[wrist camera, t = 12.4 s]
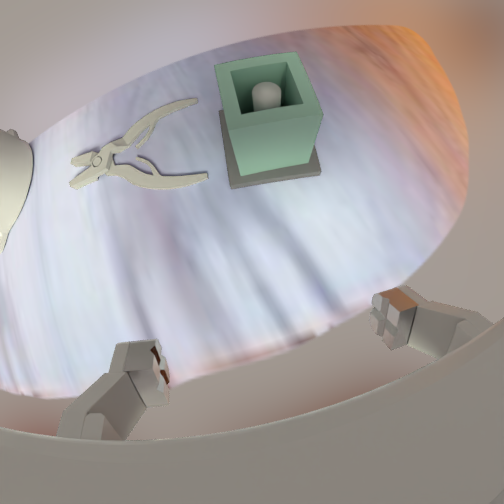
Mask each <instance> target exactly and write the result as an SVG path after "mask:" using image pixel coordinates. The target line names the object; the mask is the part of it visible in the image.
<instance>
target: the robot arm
mask: <svg viewBox="0 0 504 504" xmlns="http://www.w3.org/2000/svg"><path fill="white" fill-rule="evenodd" d="M32 168H33V156H32V151H31V148H30V146H29V144H28V143H27V142H26V141H24V140H21V139H19V137H18V134H17V132H16V131H14V130H12V129H10V130H9V131H7V132H5V131H3V130H1V129H0V254H1V253H2V251H3V249H4V246H5V243H6V239H7V236H8V233H9V231H10V229H11V227H12V226H13V224H14V222H15V221H16V219H17V217H18V215H19V213H20V211H21V209H22V207H23V204H24V202H25V199H26V196H27V193H28V189H29V185H30V181H31V176H32ZM372 305H373V306H374V308H373V309H372V311H371V312H370V325H371V328H372V329H373V331H374V332H375V333H376V334H377V335H379V336H382V341H383V342H384V343H385V344H386V346H387V347H388V348H389V349H390V350H394V349H396V348H399V347H402V346H404V345H407V344H408V346H411V347H413V348H415V349H417V350H419V351H422V352H424V353H426V354H428V355H430V356H433V357H435V358H437V360H435V361H434V362H432V363H430V364H428V365H426V366H424V367H422V368H420V369H418V370H416V371H414V372H412V373H410V374H408V375H406V376H404V377H402V378H399V379H397V380H395V381H393V382H390V383H388V384H386V385H384V386H381V387H379V388H377V389H374V390H372V391H369V392H367V393H364V394H362V395H359V396H356V397H354V398H351V399H348V400H345V401H343V402H340V403H337V404H334V405H331V406H328V407H325V408H322V409H319V410H315V411H312V412H309V413H305V414H302V415H298V416H295V417H291V418H287V419H284V420H280V421H275V422H272V423H267V424H263V425H258V426H253V427H249V428H244V429H238V430H233V431H227V432H221V433H214V434H208V435H200V436H191V437H182V438H170V439H155V440H130V441H129V440H126V439H127V437H128V436H129V434H130V433H131V431H132V430H133V428H134V427H135V425H136V424H137V423H138V421H139V420H140V418H141V417H142V415H143V414H144V412H145V411H146V408H150V407H159V406H167V405H169V389H168V387H167V385H168V383H169V382H170V376H169V368H168V365H167V361H166V358H165V357H164V356H163V355H161V350H162V347H161V345H160V342H159V340H158V339H150V340H140V341H131V342H121V343H118V344H116V347H115V350H114V354H113V357H112V361H111V365H110V369H109V372H108V373H105V374H103V375H102V376H101V377H100V378H99V379H98V380H97V381H96V382H95V383H94V384H92V385H91V386H90V387H89V388H88V389H87V390H86V391H85V392H84V393H83V394H81V395H80V396H79V397H78V398H77V399H76V400H75V401H74V402H73V403H72V404H71V405H69V406H68V407H67V408H66V409H65V410H64V411H63V414H62V417H61V420H60V424H59V427H58V431H57V435H56V437H53V436H47V435H40V434H32V433H28V432H22V431H17V430H12V429H7V428H3V427H0V504H504V318H502V319H501V320H500V321H498V322H497V323H495V324H493V323H491V322H490V321H489V320H488V319H486V318H485V317H484V316H482V315H481V314H480V313H478V312H475V311H471V310H467V309H463V308H459V307H455V306H451V305H447V304H442V303H438V302H434V301H427V300H426V299H424V298H423V297H422V296H421V295H419V294H418V293H416V292H415V291H414V290H412V289H411V288H410V287H408V286H407V285H401V286H398V287H395V288H393V289H390V290H386V291H383V292H380V293H376V294H374V295H373V297H372Z"/></svg>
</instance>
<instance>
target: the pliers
mask: <svg viewBox="0 0 504 504" xmlns="http://www.w3.org/2000/svg"><path fill="white" fill-rule="evenodd" d="M197 103H198V100H197V98H192V99H186V100H181V101H177V102H173V103H170V104H168V105H165V106H162V107H160V108H158V109H156V110H154V111H153V112H151V113H149V114H147V115H146V116H144V117H143V118H142V119H140V120H139V121H137V122H136V123H135V124H134V125H133V126H132V127H131V128H130V129H129V130H128V131H127V133H126V134H125V135H124V136H123V138H121V139H118V140H115V141H113V142H110V143H109V144H107V145H105V146H104V147H102V149H101V151H100V152H99V153H96V152H93V151H91V152H89V153H86V154H83V155H80V156H77V157H75V158H72V160H71V164H72V165H74V166H75V167H81V166H90V167H89V168H88V169H87V170H85V171H84V172H82V173H81V174H80V175H78V176H77V177H75V178H74V179H73V180H71V181H70V182H69V183H70V187H72V188H74V189H76V190H77V189H79V188H81V187H84V186H86V185H88V184H91V183H93V182H95V181H98V177H99V176H101V175H103V174H104V173H105V174H106V175H107V176H119V177H122V178H124V179H126V180H127V181H129V182H130V183H132V184H133V185H136V186H139V187H142V188H147V189H158V190H163V189H176V188H182V187H186V186H190V185H193V184H196V183H199V182H202V181H204V180H207V179H208V174H207V173H203V174H196V175H186V176H161V175H160V174H159V173H158V171H157V170H156V168H155V167H154V166H153V165H152V164H151V163H150V162H149V161H147V160H145V159H143V158H139V157H136V160H138V161H141V162H143V163H145V164H147V165H148V166H149V167H150V168H151V170H152V173H153V175H149V174H145V173H143V172H141V171H139V170H137V169H135V168H134V167H132V166H130V165H115V163H114V160H113V154H114V153H121V152H122V151H124V150H126V149H127V148H129V147H130V146H131V145H132V144H133V142H134V141H135V140H136V139H137V138H138V136H139V135H140V134H141V133H142V132H143V131H144V130H145V129H146V128H148V127H149V126H150V127H149V130H148V132H147V134H146V136H145V137H144V138H143V139H142V140H141V141H140V142H139V143H138V144H137V145H136V146H135V147H136V148H137V149H139V148H140V147H141V146H142V145H143V144H144V143H145V142H146V141H147V140H148V139H149V137H150V136H151V134H152V132H153V131H154V128H155V126H156V124H157V122H158V121H159V120H160V119H161V118H163V117H165V116H167V115H169V114H171V113H173V112H175V111H178V110H180V109H183V108H185V107H188V106H191V105H194V104H197Z"/></svg>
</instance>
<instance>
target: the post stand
mask: <svg viewBox="0 0 504 504" xmlns="http://www.w3.org/2000/svg"><path fill="white" fill-rule="evenodd" d="M252 97H253V107H254V112H256V111H262V110H267V109H273V108H279V107H281V89H280V87H279V86H278V85H276V84H275V83H272V82H261V83H259V84H257V85H255V86H254V88H253V90H252ZM219 116H220V123H221V129H222V136H223V143H224V150H225V156H226V163H227V169H228V176H229V183H230V187H231V189H236V188H241V187H247V186H253V185H259V184H265V183H271V182H277V181H283V180H290V179H297V178H304V177H311V176H318V175H320V173H321V168H320V164H319V160H318V157H317V153H316V149H315V145H314V146H313V150H312V153H311V156H310V159H309V162H308V163H305V164H299V165H294V166H289V167H283V168H278V169H273V170H268V171H263V172H258V173H254V174H249V175H244V176H241V175H240V172H239V168H238V164H237V161H236V157H235V154H234V150H233V146H232V143H231V139H230V136H229V132H228V128H227V123H226V119H225V114H224V110H220V111H219Z"/></svg>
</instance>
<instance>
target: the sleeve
mask: <svg viewBox="0 0 504 504" xmlns="http://www.w3.org/2000/svg"><path fill="white" fill-rule="evenodd" d="M214 68H215V72H216V77H217V82H218V86H219V91H220V96H221V100H222V105H223V109H224V114H225V119H226V123H227V128H228V132H229V136H230V139H231V143H232V146H233V150H234V154H235V157H236V161H237V164H238V168H239V172H240V175H241V176H244V175H249V174H254V173H258V172H263V171H268V170H273V169H278V168H283V167H289V166H294V165H299V164H305V163H308V162H309V159H310V156H311V153H312V150H313V146H314V143H315V140H316V137H317V134H318V130H319V127H320V124H321V121H322V117H323V112H322V109H321V107H320V104H319V102H318V99H317V97H316V94H315V92H314V90H313V87H312V85H311V83H310V80H309V78H308V76H307V73H306V71H305V69H304V67H303V65H302V62H301V60H300V58H299V56H298V54H297V52H288V53H279V54H272V55H265V56H258V57H252V58H246V59H241V60H236V61H231V62H226V63H222V64H217V65H214ZM261 82H272V83H275V84H276V85H278V86H279V87H280V89H281V107H279V108H273V109H267V110H262V111H256V112H254V107H253V97H252V90H253V88H254V86H255V85H257V84H259V83H261Z"/></svg>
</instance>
